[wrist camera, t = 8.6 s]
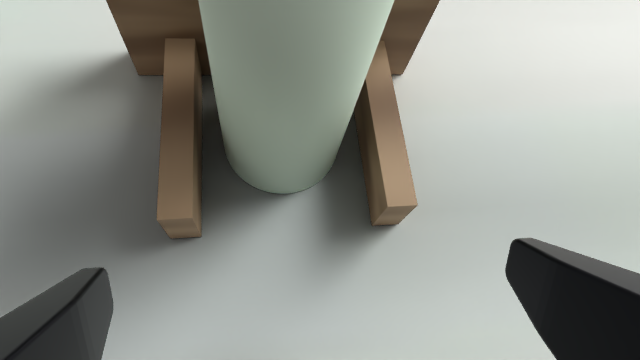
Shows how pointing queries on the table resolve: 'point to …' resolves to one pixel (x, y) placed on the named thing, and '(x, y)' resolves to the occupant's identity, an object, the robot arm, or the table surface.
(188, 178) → the holder
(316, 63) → the pale green tapered cylinder
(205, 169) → the table surface
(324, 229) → the table surface
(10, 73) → the table surface
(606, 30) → the table surface
